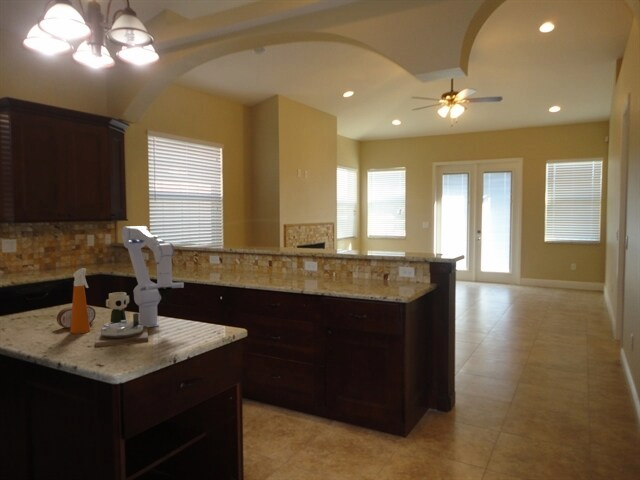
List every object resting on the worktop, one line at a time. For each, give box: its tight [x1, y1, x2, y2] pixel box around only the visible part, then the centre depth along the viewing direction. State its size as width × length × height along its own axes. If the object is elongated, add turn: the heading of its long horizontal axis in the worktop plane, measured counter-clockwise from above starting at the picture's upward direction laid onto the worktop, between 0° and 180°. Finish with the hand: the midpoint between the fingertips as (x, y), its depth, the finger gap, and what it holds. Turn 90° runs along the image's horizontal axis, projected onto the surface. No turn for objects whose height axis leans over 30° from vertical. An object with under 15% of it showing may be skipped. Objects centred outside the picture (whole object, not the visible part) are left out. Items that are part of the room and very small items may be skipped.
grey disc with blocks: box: [100, 312, 143, 338], centre depth 176 cm, size 15×15×7 cm
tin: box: [56, 304, 97, 329], centre depth 193 cm, size 15×3×8 cm, turn 141°
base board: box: [94, 326, 149, 348], centre depth 176 cm, size 18×18×2 cm
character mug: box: [105, 291, 130, 324], centre depth 198 cm, size 11×7×13 cm, turn 148°
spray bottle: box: [70, 267, 91, 335], centre depth 182 cm, size 7×11×26 cm, turn 53°
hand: (165, 306), depth 184 cm, fingers closed
